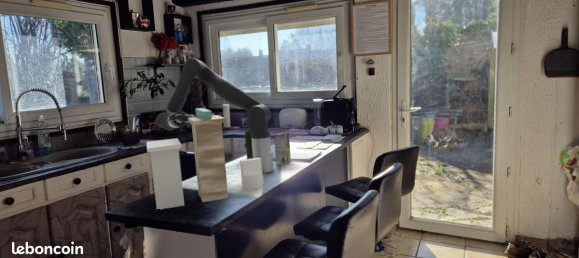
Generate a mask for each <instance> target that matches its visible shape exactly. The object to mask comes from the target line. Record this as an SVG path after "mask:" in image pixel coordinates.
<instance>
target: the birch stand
mask: <svg viewBox="0 0 579 258" xmlns="http://www.w3.org/2000/svg"><path fill="white" fill-rule="evenodd" d="M188 123H189V124H191V129H192V138H193V139H192V140H193V149H194V159H195V160H194V161H195V169H196V170H195V171H196V180H197V190H198V196H199V198H200V199H201V202H202V203H206V202H207V203H208V202H212V201H219V200H225V199H229V192H228V191H229V190H228V179H227V172H226V171H227V170H226V169H227V168H226V158H225V147H224V146H225V145H224V135H223V125H222V124H223V123H226V117H224V116H223V117H222V116H221V115H217V114H216V115H213V114H212V119H205V120H204V119H202V118H200V117H192V118H188Z"/></svg>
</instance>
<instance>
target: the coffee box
mask: <svg viewBox="0 0 579 258" xmlns="http://www.w3.org/2000/svg"><path fill="white" fill-rule="evenodd" d="M273 139H274V153H275V164H276V166H286V165H287V166H288V165H289V164H290V163H291V161H292V159H291V157H292V156H291V145H290V133H289V132H278V133H275V134H274V136H273Z"/></svg>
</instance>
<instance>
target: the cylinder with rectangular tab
mask: <svg viewBox="0 0 579 258" xmlns="http://www.w3.org/2000/svg"><path fill="white" fill-rule="evenodd" d="M239 163H240V175H241V186H242V189H243V190H258V189H261V188H263V186H264V181H263V178H264V177H263V173H262V165H261V158H252V159H247V158H246V159H240V160H239Z"/></svg>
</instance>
